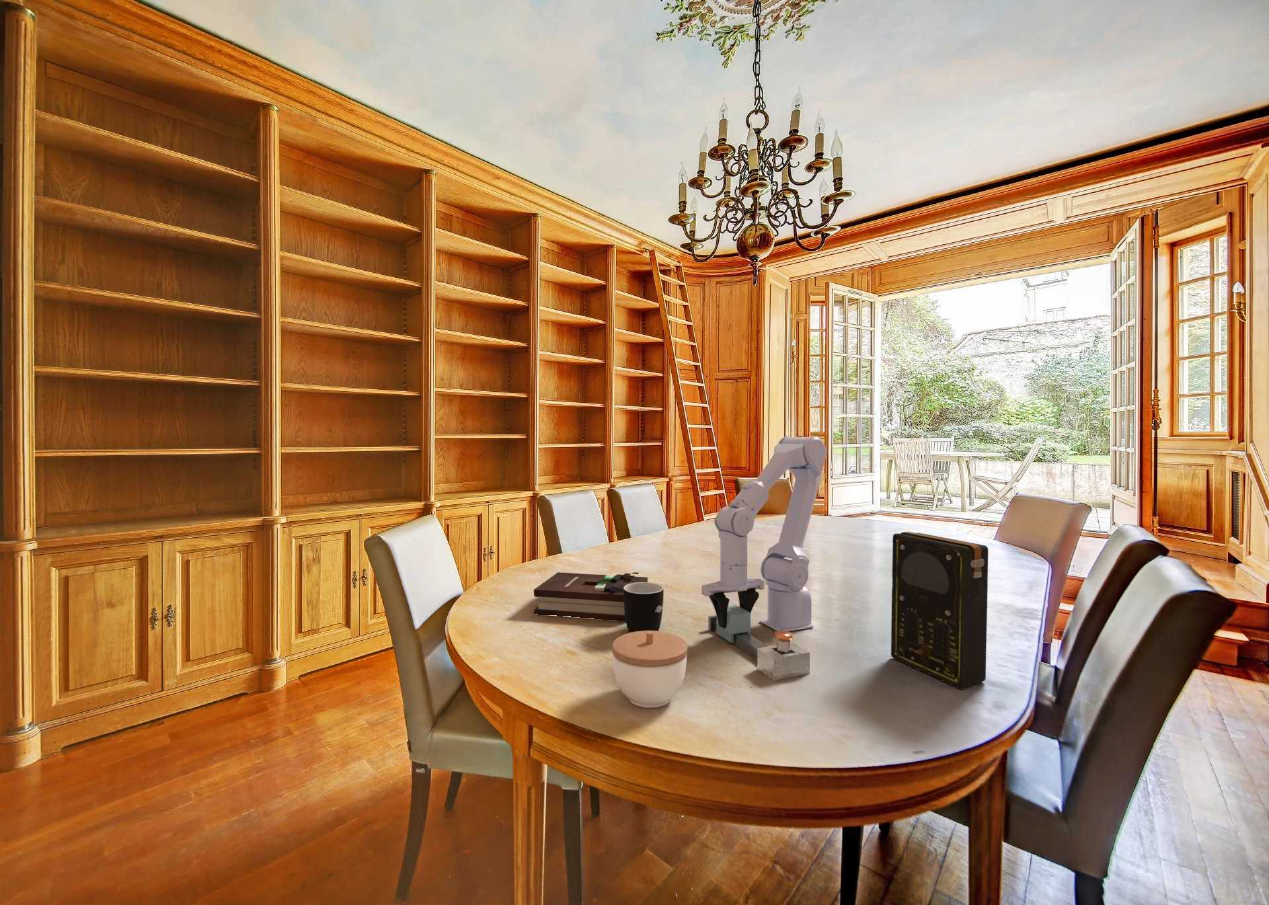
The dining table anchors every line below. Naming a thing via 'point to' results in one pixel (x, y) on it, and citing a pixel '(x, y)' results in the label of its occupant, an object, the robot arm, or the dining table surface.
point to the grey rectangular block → (783, 662)
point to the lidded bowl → (649, 666)
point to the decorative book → (584, 595)
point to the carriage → (735, 623)
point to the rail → (740, 638)
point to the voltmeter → (940, 607)
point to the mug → (643, 606)
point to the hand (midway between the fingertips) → (733, 625)
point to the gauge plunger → (783, 641)
